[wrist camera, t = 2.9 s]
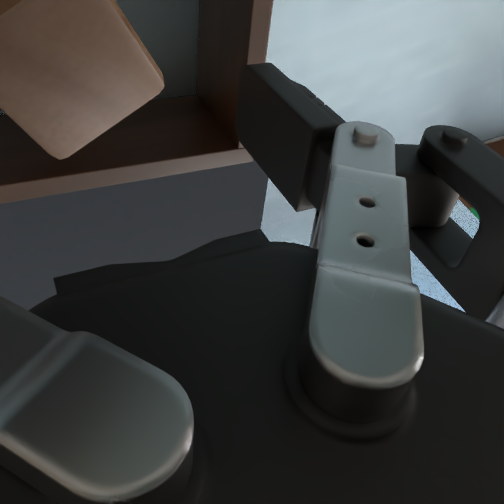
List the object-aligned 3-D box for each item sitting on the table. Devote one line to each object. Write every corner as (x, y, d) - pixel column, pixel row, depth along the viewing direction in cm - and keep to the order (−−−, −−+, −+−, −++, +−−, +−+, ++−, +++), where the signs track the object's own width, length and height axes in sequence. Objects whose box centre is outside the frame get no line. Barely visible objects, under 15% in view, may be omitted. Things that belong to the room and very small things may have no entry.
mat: (-232, 211, 18) (-235, 219, 18) (270, 137, 27) (274, 142, 26) (-106, 378, 27) (-106, 385, 26) (248, 282, 35) (251, 286, 35)
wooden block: (34, -113, 15) (83, -49, 10) (108, -1, 19) (174, 90, 14) (-66, -43, 16) (-64, 55, 11) (25, 58, 19) (60, 169, 14)
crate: (-387, -312, 10) (-525, -340, 7) (227, -215, 16) (300, -206, 13) (-143, 149, 18) (-158, 230, 15) (210, 108, 24) (253, 162, 21)
